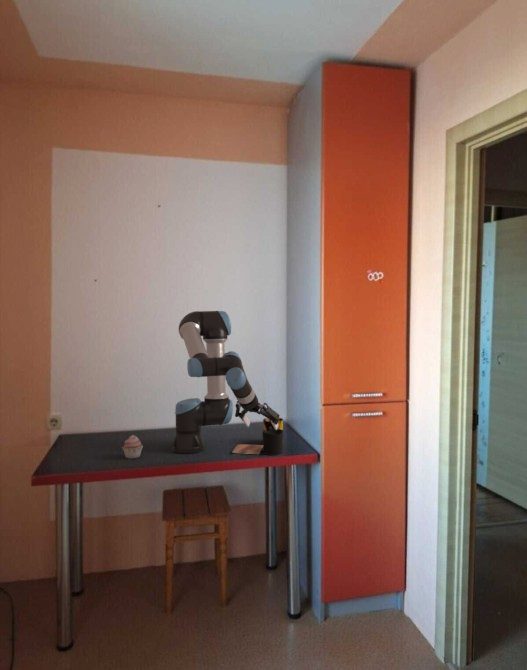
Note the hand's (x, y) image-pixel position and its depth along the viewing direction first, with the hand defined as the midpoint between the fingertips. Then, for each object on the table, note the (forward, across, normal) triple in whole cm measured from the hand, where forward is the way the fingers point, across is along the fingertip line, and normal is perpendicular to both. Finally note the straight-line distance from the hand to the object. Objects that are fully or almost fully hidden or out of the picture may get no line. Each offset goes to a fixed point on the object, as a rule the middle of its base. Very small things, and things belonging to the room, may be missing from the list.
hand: (262, 425), depth 219 cm
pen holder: (+18, 0, -3) cm, 18 cm away
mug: (+26, -5, +5) cm, 27 cm away
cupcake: (-4, -55, -25) cm, 60 cm away
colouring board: (+16, -12, -4) cm, 21 cm away
